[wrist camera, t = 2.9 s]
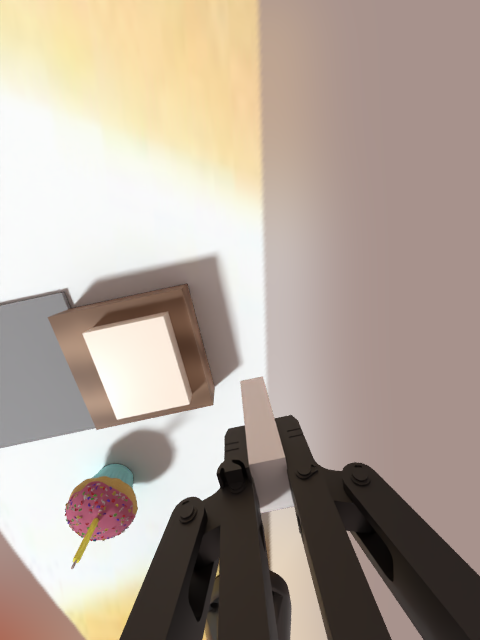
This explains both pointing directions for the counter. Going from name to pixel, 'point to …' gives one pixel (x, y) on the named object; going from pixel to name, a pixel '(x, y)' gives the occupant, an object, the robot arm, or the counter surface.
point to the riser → (86, 317)
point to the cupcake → (102, 506)
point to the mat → (36, 375)
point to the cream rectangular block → (139, 365)
